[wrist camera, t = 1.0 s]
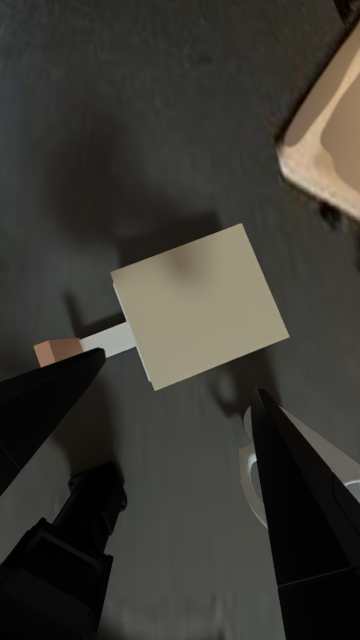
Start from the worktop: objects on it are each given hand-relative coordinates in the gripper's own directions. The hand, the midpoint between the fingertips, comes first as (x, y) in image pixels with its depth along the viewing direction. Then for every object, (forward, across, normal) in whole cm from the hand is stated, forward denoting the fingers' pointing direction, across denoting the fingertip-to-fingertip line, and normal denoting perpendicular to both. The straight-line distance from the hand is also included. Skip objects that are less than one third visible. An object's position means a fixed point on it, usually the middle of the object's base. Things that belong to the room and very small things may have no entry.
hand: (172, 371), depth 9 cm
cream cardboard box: (+15, +1, +2) cm, 15 cm away
